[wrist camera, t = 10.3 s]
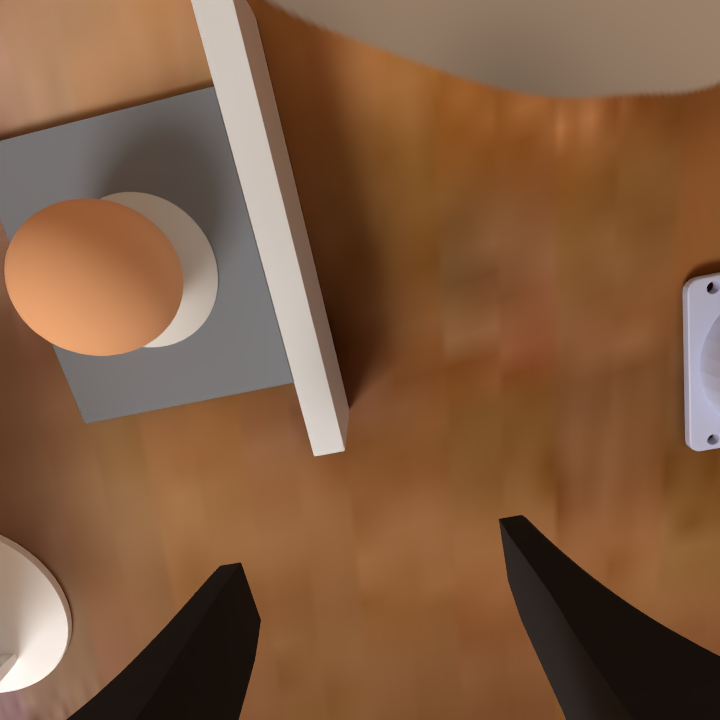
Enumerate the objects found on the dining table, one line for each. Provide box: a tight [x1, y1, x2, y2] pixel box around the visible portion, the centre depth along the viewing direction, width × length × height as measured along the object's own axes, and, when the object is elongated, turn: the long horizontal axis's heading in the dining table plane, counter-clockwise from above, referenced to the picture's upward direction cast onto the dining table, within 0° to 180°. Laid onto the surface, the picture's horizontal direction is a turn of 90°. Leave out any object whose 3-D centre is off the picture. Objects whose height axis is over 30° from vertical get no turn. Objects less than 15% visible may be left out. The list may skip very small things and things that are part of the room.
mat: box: [0, 87, 294, 424], centre depth 19 cm, size 10×12×1 cm
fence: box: [191, 0, 349, 456], centre depth 17 cm, size 1×16×4 cm, turn 13°
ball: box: [4, 198, 183, 356], centre depth 16 cm, size 6×6×6 cm
